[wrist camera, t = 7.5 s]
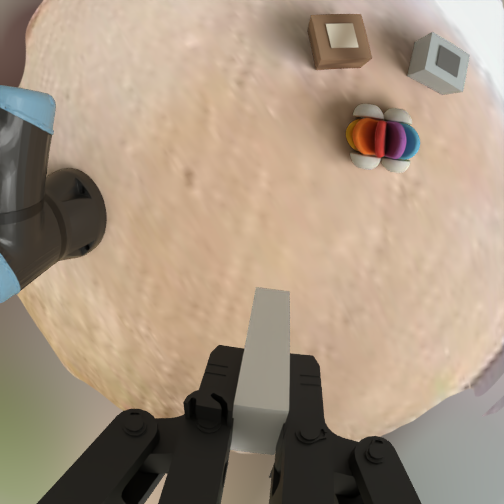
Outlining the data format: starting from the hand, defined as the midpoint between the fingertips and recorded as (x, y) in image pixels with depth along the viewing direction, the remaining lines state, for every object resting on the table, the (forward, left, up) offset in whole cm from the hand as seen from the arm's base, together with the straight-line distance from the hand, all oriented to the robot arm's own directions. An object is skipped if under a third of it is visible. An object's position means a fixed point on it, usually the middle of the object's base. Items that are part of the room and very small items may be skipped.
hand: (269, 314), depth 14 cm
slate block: (+19, +22, -29) cm, 41 cm away
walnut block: (+5, +21, -29) cm, 36 cm away
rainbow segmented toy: (+12, +9, -29) cm, 33 cm away
